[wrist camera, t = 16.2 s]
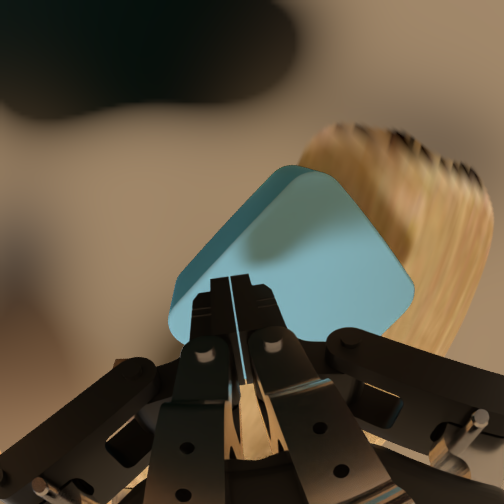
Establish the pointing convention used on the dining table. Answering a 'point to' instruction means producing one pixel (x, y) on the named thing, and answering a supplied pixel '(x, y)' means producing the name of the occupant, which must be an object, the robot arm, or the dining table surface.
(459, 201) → the dining table surface
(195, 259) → the data package
